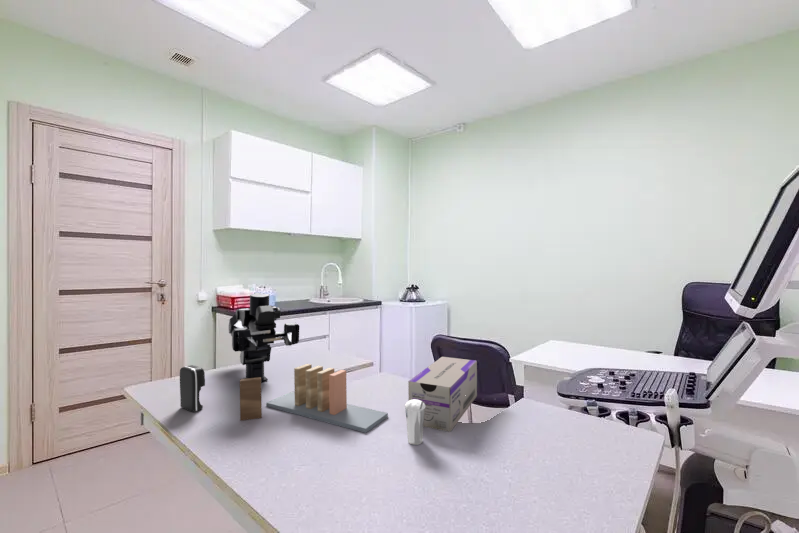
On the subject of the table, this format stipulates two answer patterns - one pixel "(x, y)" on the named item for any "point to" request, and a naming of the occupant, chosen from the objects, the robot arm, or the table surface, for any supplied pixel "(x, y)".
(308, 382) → the maple domino
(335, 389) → the terracotta domino
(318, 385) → the maple domino
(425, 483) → the table surface
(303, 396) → the maple domino
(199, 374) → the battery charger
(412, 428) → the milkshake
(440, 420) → the surgical sutures box
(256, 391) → the walnut domino
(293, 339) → the robot arm
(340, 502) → the table surface
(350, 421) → the slate board
